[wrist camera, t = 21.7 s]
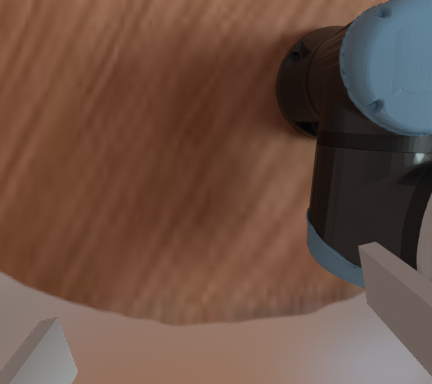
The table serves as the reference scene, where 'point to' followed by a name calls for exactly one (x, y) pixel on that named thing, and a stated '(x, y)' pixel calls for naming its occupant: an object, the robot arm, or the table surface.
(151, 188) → the table surface
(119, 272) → the table surface
